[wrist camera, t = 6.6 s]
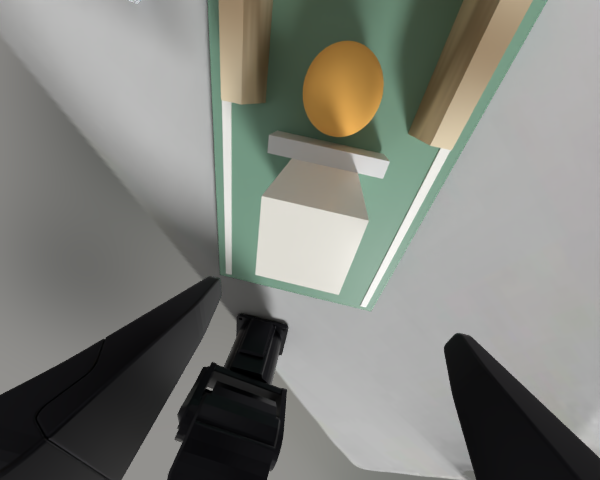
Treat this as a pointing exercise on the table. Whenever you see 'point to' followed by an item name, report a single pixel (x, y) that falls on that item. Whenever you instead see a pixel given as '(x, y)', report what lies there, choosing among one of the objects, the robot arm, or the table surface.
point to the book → (135, 1)
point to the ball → (343, 88)
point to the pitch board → (373, 137)
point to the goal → (443, 84)
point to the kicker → (314, 211)
